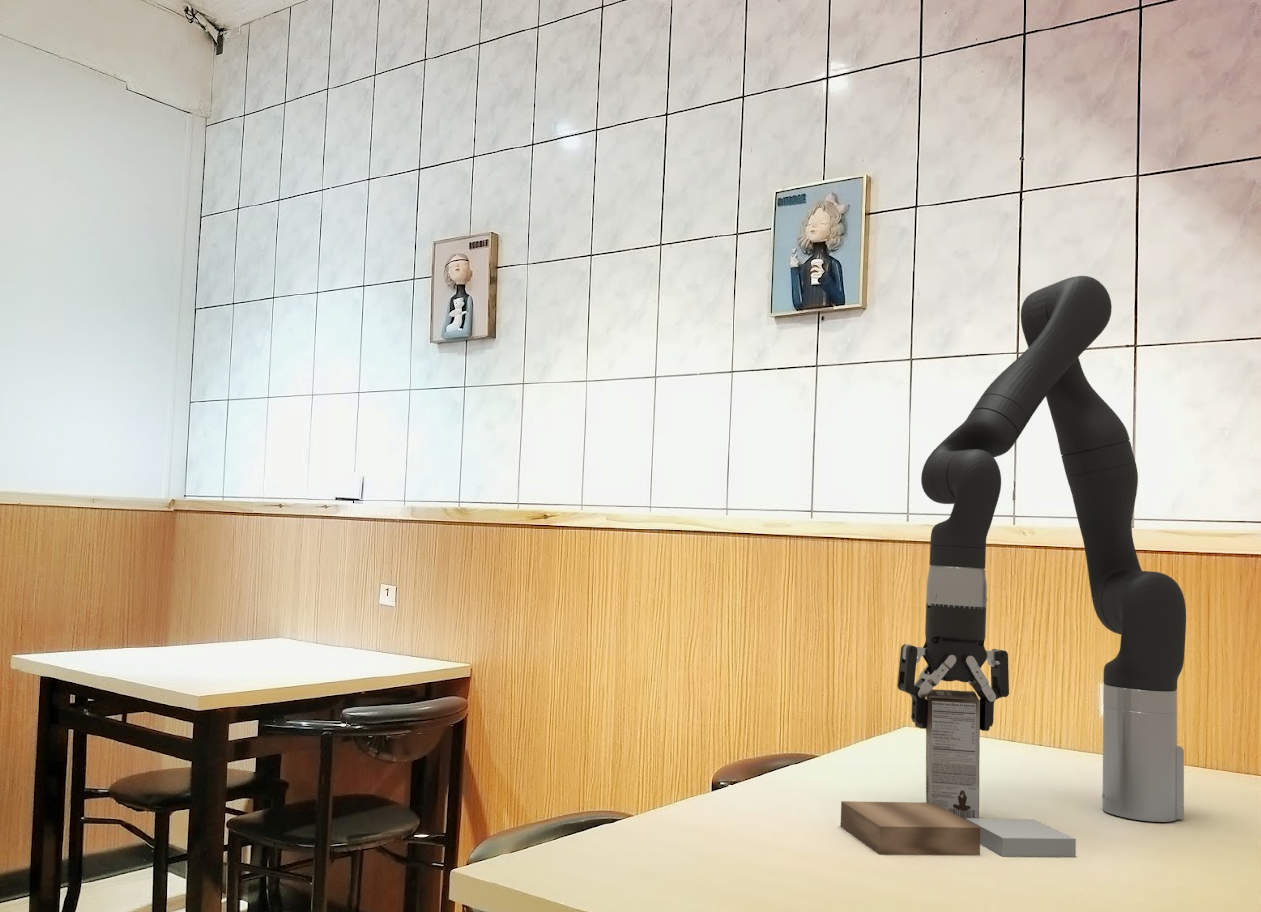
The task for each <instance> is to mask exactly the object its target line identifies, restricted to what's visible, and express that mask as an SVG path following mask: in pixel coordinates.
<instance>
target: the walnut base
mask: <svg viewBox="0 0 1261 912" xmlns="http://www.w3.org/2000/svg"><path fill="white" fill-rule="evenodd" d="M840 803H841V805H840V827H841V828H842V829H844V831H846V832H848V833H849V834H850V835H852V836H854V838H856V839H857V840H859V841H861V842H862V843H863V844H865V845H866V846H867V847H869V848H870V849H871V850H873V851H874V852H876V853H877V854H878V855H929V856H930V855H931V856H932V855H936V856H938V855H941V856H942V855H943V856H945V855H947V856H949V855H950V856H953V855H954V856H956V855H957V856H958V855H959V856H962V855H963V856H966V855H967V856H981V844H980V827H978V826H976V825H974V824H973V823H971V822H969V821H967V820H965V819H963V818H961V817H959V816H957V815H955V814H954V813H952V812H950V811H948V810H946V809H944V808H942V807H940V806H938V805H937V804H935V803H926V802H912V801H911V802H909V801H908V802H906V801H856V800H855V801H854V800H853V801H849V800H848V801H847V800H846V801H845V800H843V801H842V800H841V802H840Z"/></svg>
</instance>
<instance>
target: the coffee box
mask: <svg viewBox="0 0 1261 912" xmlns="http://www.w3.org/2000/svg"><path fill="white" fill-rule="evenodd" d="M926 699H927V700H928V719H927V728H926V729H925V796H926V797H925V803H935V804H937V805H938V806H940V807H942V808H944V809H946V810H948V811H950V812H952V813H954V814H955V815H957V816H959V817H961V818H963V819H965V818H980V747H981V746H980V737H981V736H980V735H981V734H980V731H981V730H980V698H979V696H978V694H977V693H976V691H975V690H973V691H972V690H970V691H969V690H952V689H951V690H950V689H933V688H932V690H931V691H930V692H929V694H928V695H927V696H926Z"/></svg>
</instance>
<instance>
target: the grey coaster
mask: <svg viewBox="0 0 1261 912" xmlns="http://www.w3.org/2000/svg"><path fill="white" fill-rule="evenodd" d="M965 820H967V821H969V822H971V823H973V824H974V825H976V826H978V827H980V845H982V846H983V847H985V848H987V849H988V850H991V851H993V852H995V853H996V854H998V855H1000V856H1002V857H1038V858H1039V857H1047V858H1048V857H1051V858H1053V857H1059V858H1062V857H1063V858H1065V857H1066V858H1068V857H1069V858H1072V857H1073V858H1074V857H1075V858H1076V856H1077V855H1076V852H1077V850H1076V849H1077V847H1076V846H1077V845H1076V844H1077V839H1076V838H1075V837H1073V836H1071V835H1068V834H1066V833H1064V832H1063V831H1060V830H1058V829H1056V828H1054V827H1052V826H1049V825H1047V824H1045V823H1043V822H1041V821H1039V820H1036V819H1034V818H986V817H985V818H981V817H979V818H965Z"/></svg>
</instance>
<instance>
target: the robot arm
mask: <svg viewBox="0 0 1261 912" xmlns="http://www.w3.org/2000/svg"><path fill="white" fill-rule="evenodd" d="M1112 305H1113V304H1112V301H1111V297H1110V294H1109V292H1108V290H1107V288H1106V286H1104V285H1103V284H1102V282H1100V281H1099V280H1097V279H1096V278H1094V277H1092V276H1088V275H1078V276H1071V277H1067V278H1065V279H1063V280H1060V281H1057V282H1055V283H1053V284H1049V285H1047V286H1045V287H1042V288H1040V289H1037V290H1035V291H1033V292H1031V293H1030V294H1028V295H1027V297H1026V298H1025V299H1024V300H1023V303H1022V305H1021V309H1020V324H1021V329H1022V332H1023V336H1024V339H1025V342H1026V344H1027V348H1026V350H1025V351H1024V352H1023V353H1022V354H1021V355H1019V357H1017V358H1016V359H1015V360H1014V361H1013V362H1011V364H1010V365H1008V366H1007V367H1006V368H1005V369H1004V370H1003V371H1002V372H1001V373H1000V374H999V375H998V376H997V377H995V379H994V380H993V381H992V382H991V383H990V384H989V385H988V387H987V388H986V389H985V390H984V392H983V393H982V395H981V396H980V398H979V399H978V401H977V402H976V404H975V406H974V407H973V408H972V410H971V411H970V413H969V414H968V416H967V418H966V419H965V421H963V423H961V424H960V425H959V426H958V427H957V428H956V429H954V430H953V431H952V432H951V433H950V434H949V435H948V436H947V437H946V438H944V440H942V441H941V443H939V444H938V445H937V447H935V448H934V449H933V451H932V452H931V453H930V454H929V456H928V457H927V458H926V461H925V463H924V464H923V467H922V471H921V479H920V480H921V481H920V482H921V487H922V490H923V492H924V493H925V495H926V497H928V498H929V499H930V500H931V501H933V502H935V503H938V504H943V505H953V506H952V509H951V513H950V516H949V518H947V519H946V520H944V521H941V522H938V523H936V524H935V525H934V526H933V527H932V528H931V533H930V540H929V541H930V547H929V567H928V568H929V569H928V570H929V571H928V575H927V580H926V598H925V599H926V600H925V601H926V603H925V604H926V605H925V626H924V627H925V628H924V632H925V633H924V634H925V635H924V636H925V642H924V644H923V646H922V647H921V646H915V645H912V644H908V643H907V644H905V643H904V644H902V645H901V647H900V654H899V655H900V656H899V666H898V676H897V685H896V686H897V689H898V690H899V691H902V692H904V693H906V694H908V695H910V697H911V716H910V717H911V722H913V723H914V725H915V727H916V728H919V729H925V730H926V728H927V719H928V700H927V699H926V696H927V695H928V694H929V692H930V691H931V690H932V689H933V688H935V687H937V685H939V684H940V682H941V681H944V682H955V681H958V682H961V683H968V684H969V685H970V686H971V687H972V689H974V690H973V691H974V692H975V693H976V695H977V697H978V698H979V700H980V731H983V732H988V731H990V729H991V727H993V725H994V713H995V712H994V711H995V709H994V708H995V701H996V700H998V699H1001V698H1007V697H1008V696H1009V695H1010V681H1009V680H1010V679H1009V678H1010V677H1009V674H1010V673H1009V672H1010V671H1009V653H1008V652H1007V651H1006V650H1003V649H998V648H997V649H996V648H993V649H991V650H986V647H985V640H986V633H987V631H986V627H987V624H986V623H987V602H988V596H987V594H988V586H987V585H988V584H987V576H986V575H987V573H986V561H987V558H986V557H987V538H988V537H987V536H988V533H989V532H990V529H991V525H992V522H993V519H994V515H995V512H996V511H995V510H996V509H997V505H998V502H999V498H1000V494H1001V489H1002V475H1001V469H1000V466H999V464H998V462H997V460H996V459H995V458H997V457H1001V456H1003V455H1005V454H1006V453H1008V452H1009V451H1010V450H1011V449H1012V448H1013V446H1014V445H1015V444H1016V442H1017V440H1018V439H1019V437H1020V436H1021V434H1022V432H1023V431H1024V429H1025V428H1026V427H1027V425H1028V423H1030V422H1029V421H1030V420H1031V418H1032V417H1033V415H1034V414H1035V412H1036V410H1037V409H1038V408H1039V406H1040V405H1041V403H1042V402H1043V401H1044V400H1045V398H1046V401H1047V405H1048V409H1049V412H1050V415H1051V420H1052V422H1053V423H1052V424H1053V426H1054V430H1055V433H1056V438H1057V443H1058V447H1059V452H1060V455H1061V456H1060V457H1061V461H1062V465H1063V469H1064V472H1065V476H1066V479H1067V482H1068V483H1067V484H1068V487H1069V490H1070V493H1071V497H1072V502H1073V504H1074V509H1075V513H1076V518H1077V521H1078V525H1079V530H1080V533H1081V537H1082V541H1083V546H1084V553H1085V558H1086V559H1085V561H1086V566H1087V573H1088V580H1089V588H1090V593H1091V595H1090V596H1091V599H1092V600H1091V602H1092V605H1093V609H1094V612H1095V614H1096V616H1097V618H1098V620H1099V621H1100V623H1101V624H1102V625H1103V626H1104V627H1105V628H1106V629H1107V630H1109V631H1110V632H1112V633H1114V634H1117V635H1120V643H1119V645H1120V646H1119V651H1118V653H1117V655H1116V656H1115V657H1114V658H1113V659H1112V660H1110V661H1108V662H1107V663H1105V665H1104V667H1103V687H1102V689H1103V690H1102V691H1103V692H1102V693H1103V694H1102V695H1103V697H1102V699H1103V700H1102V705H1103V706H1102V707H1103V711H1102V715H1103V717H1102V721H1103V723H1102V796H1101V797H1102V798H1101V799H1102V811H1104V812H1106V813H1108V814H1111V815H1114V816H1118V817H1122V818H1124V819H1125V818H1126V819H1130V820H1137V821H1143V822H1144V821H1145V822H1158V823H1160V822H1161V823H1170V822H1174V821H1178V820H1184V819H1185V767H1184V766H1185V752H1184V751H1185V750H1184V748H1183V747H1182V746H1180V745H1178V682H1179V681H1178V680H1179V677H1180V674H1181V672H1182V670H1183V667H1184V663H1185V649H1186V648H1185V647H1186V633H1187V631H1186V630H1187V607H1186V600H1185V597H1184V596H1185V595H1184V593H1183V591H1182V588H1181V587H1180V585H1179V584H1178V582H1177V581H1176V580H1175V579H1173V578H1172V577H1171V576H1170V575H1167V574H1165V573H1164V572H1163V573H1162V572H1158V571H1151V570H1150V571H1149V570H1142V568H1141V565H1140V562H1139V559H1138V558H1139V557H1138V555H1137V552H1136V548H1135V543H1134V537H1133V528H1132V527H1133V525H1132V523H1133V518H1134V517H1133V516H1134V510H1135V505H1136V499H1137V493H1138V486H1139V473H1138V468H1137V463H1136V459H1135V456H1134V451H1133V447H1132V443H1131V440H1130V436H1129V432H1128V430H1127V427H1126V426H1125V424H1124V422H1123V421H1122V420H1121V418H1120V417H1119V416H1118V414H1117V413H1116V412H1115V411H1114V410H1113V408H1112V407H1111V406H1110V405H1109V404H1108V403H1107V402H1105V400H1104V399H1103V398H1102V396H1100V395H1099V393H1098V392H1097V391H1096V390H1095V389H1094V388H1093V387H1092V385H1091V383H1089V381H1088V379H1087V377H1086V376H1085V373H1084V371H1083V368H1082V364H1081V362H1080V361H1081V360H1080V358H1079V357H1080V356H1081V355H1082V353H1084V352H1085V351H1086V350H1087V349H1088V348H1089V346H1090V345H1091V344H1093V342H1094V341H1095V340H1097V338H1098V337H1099V336H1100V335H1101V334H1102V333H1103V331H1104V330H1105V329H1106V327H1107V326H1108V324H1109V322H1110V320H1111V316H1112V307H1113V306H1112ZM922 657H923V659H924V661H925V662H926V666H925V667H924V668H923V670H922V671H921V673H919V675H918V679H917V680H916V673H917V664H918V663H919V662H920V660H921V658H922ZM986 661H987V664H988V665H989V667H990V682H989V680H988V679H987V677H986V675H985V674H984V672H983V671H982V669H981V668H982V667H983V665H984V664H985V662H986Z"/></svg>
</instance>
